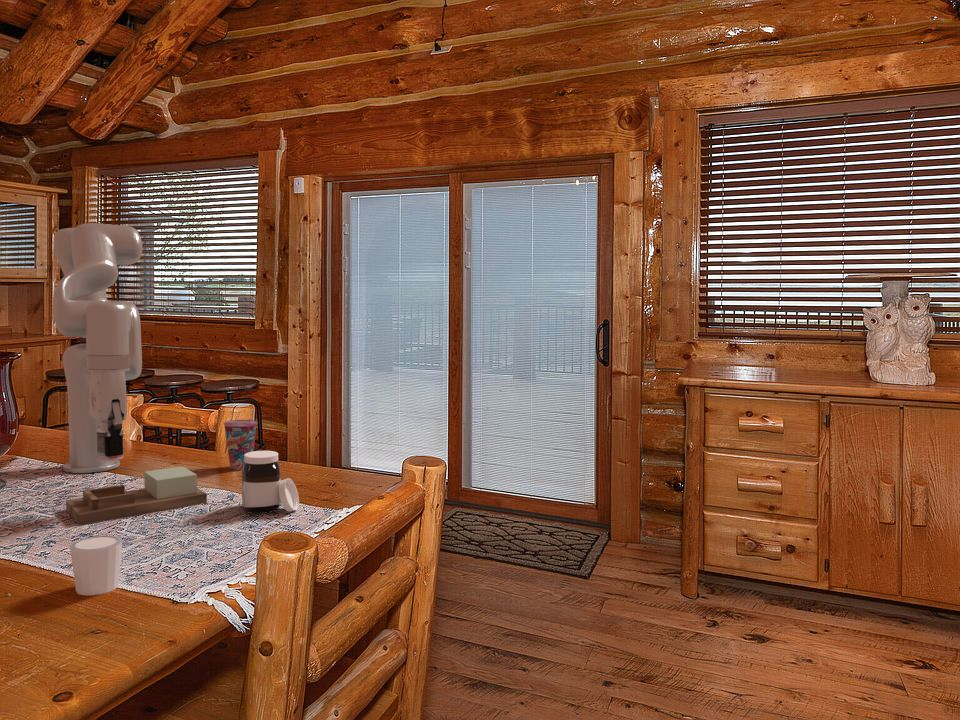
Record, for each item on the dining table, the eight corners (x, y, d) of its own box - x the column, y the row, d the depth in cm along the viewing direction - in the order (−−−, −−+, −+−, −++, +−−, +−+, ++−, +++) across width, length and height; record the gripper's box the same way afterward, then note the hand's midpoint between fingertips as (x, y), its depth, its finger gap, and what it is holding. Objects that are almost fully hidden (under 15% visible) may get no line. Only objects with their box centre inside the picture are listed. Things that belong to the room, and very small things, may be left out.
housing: (66, 509, 138) (65, 490, 138) (187, 490, 154) (187, 473, 154) (79, 525, 129) (78, 504, 129) (206, 502, 145) (206, 484, 145)
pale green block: (144, 489, 147) (144, 471, 146) (182, 483, 152) (182, 466, 152) (157, 499, 140) (157, 480, 140) (197, 492, 145) (196, 474, 145)
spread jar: (240, 503, 146) (240, 450, 145) (294, 498, 150) (294, 446, 149) (244, 520, 135) (244, 462, 134) (302, 514, 139) (302, 458, 138)
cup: (216, 469, 174) (215, 423, 173) (239, 462, 181) (239, 418, 180) (245, 473, 170) (244, 426, 169) (267, 466, 178) (267, 421, 177)
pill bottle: (112, 462, 135) (111, 420, 134) (91, 460, 136) (90, 419, 135) (129, 457, 139) (128, 416, 139) (109, 455, 140) (108, 415, 140)
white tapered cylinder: (109, 574, 107) (108, 531, 106) (132, 585, 103) (131, 541, 102) (62, 589, 101) (61, 543, 101) (85, 601, 97) (83, 554, 97)
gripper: (77, 361, 140) (80, 448, 141) (97, 368, 127) (100, 463, 129) (117, 360, 145) (119, 444, 146) (140, 366, 132) (142, 458, 134)
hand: (110, 452), depth 137 cm, fingers closed on pill bottle, 4 cm apart
